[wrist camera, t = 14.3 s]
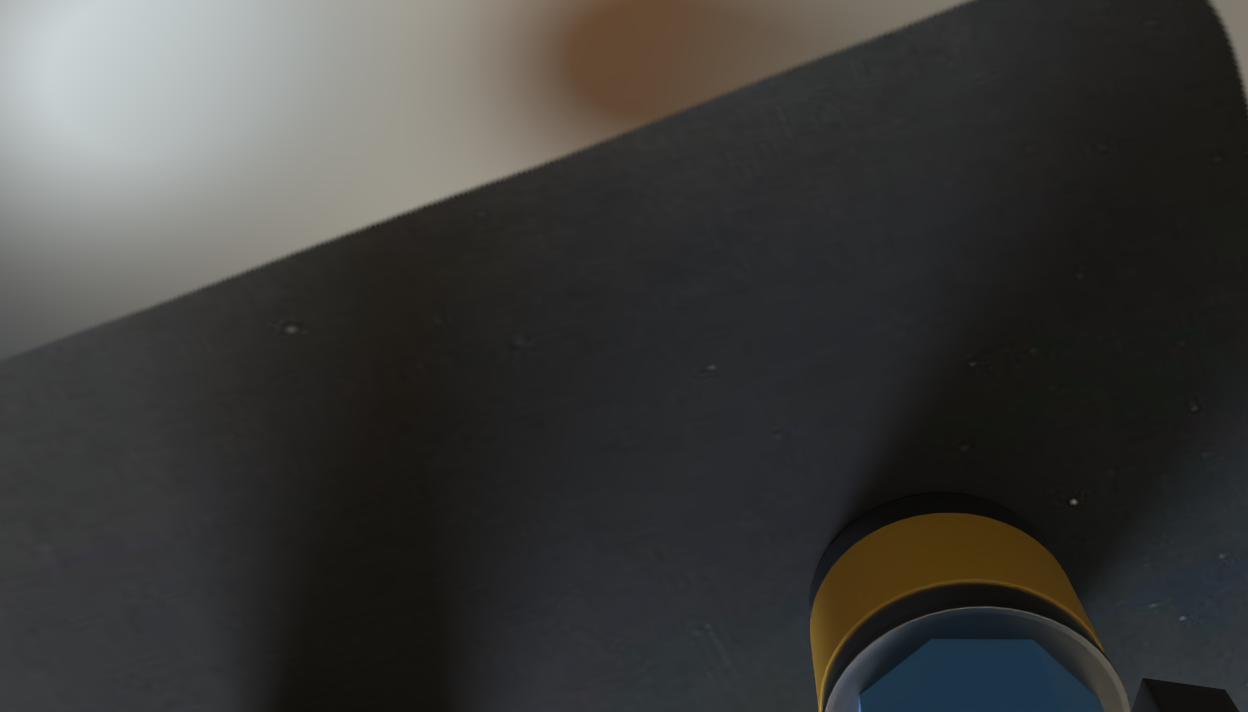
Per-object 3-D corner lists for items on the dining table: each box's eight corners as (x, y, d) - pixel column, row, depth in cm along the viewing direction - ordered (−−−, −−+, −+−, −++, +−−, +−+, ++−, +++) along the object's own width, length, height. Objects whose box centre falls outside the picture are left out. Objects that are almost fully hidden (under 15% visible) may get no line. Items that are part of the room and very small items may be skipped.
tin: (899, 444, 50) (935, 554, 42) (1120, 567, 51) (1197, 698, 43) (757, 636, 54) (764, 772, 46) (966, 746, 55) (1009, 898, 47)
